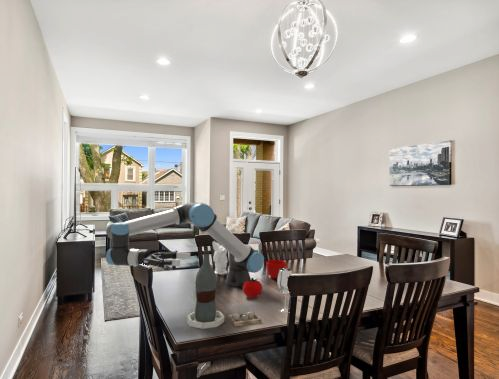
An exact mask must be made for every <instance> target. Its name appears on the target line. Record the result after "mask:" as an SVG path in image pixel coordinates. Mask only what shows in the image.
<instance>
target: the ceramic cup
mask: <svg viewBox="0 0 499 379" xmlns="http://www.w3.org/2000/svg"><path fill="white" fill-rule="evenodd" d="M265 263H266V266H265V267H266V272H267V274H268V275H269V278H271V279H274V280H277V279H278V274H279V270H280V269H281V268H289V266H287V261H285V260H281V259H271V260H270V259H269V260H266V262H265Z"/></svg>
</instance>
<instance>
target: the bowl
mask: <svg viewBox="0 0 499 379" xmlns="http://www.w3.org/2000/svg"><path fill="white" fill-rule="evenodd" d="M186 322H187V325H188V327H189V328H192V327H193V328H197V329H202V330H204V329H211V328H218V327H219V326H221V325H222V324H223V323H224V322H225V315H224V314H223V313H222V312H221V311H220V310H216V318H215V321H213V322H205V323H202V322H197V321H196V317H195V310H194V311H193V312H191V313H189V314H187V316H186Z"/></svg>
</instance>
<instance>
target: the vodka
mask: <svg viewBox="0 0 499 379" xmlns="http://www.w3.org/2000/svg"><path fill="white" fill-rule="evenodd" d="M202 260H203V261H202V262H203V263H202V265H201V266H200V268H199V269H198V271H197V273H196V277H195V284H194V285H195V293H196V294H195V296H196V298H195V299H196V303H195V310H194V311H195V317H196V321H197V322H202V323H205V322H213V321H215V318H216V311H217V307H216V306H217V304H216V294H217V293H216V291H217V282H218V281H217V274H215V269H213V267H212V265H211V264H210V250H203V258H202Z"/></svg>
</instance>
